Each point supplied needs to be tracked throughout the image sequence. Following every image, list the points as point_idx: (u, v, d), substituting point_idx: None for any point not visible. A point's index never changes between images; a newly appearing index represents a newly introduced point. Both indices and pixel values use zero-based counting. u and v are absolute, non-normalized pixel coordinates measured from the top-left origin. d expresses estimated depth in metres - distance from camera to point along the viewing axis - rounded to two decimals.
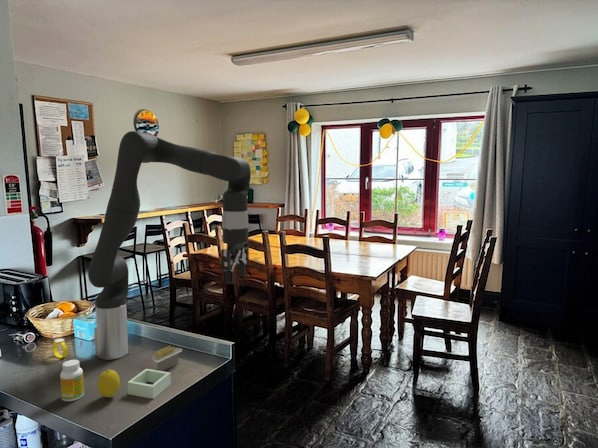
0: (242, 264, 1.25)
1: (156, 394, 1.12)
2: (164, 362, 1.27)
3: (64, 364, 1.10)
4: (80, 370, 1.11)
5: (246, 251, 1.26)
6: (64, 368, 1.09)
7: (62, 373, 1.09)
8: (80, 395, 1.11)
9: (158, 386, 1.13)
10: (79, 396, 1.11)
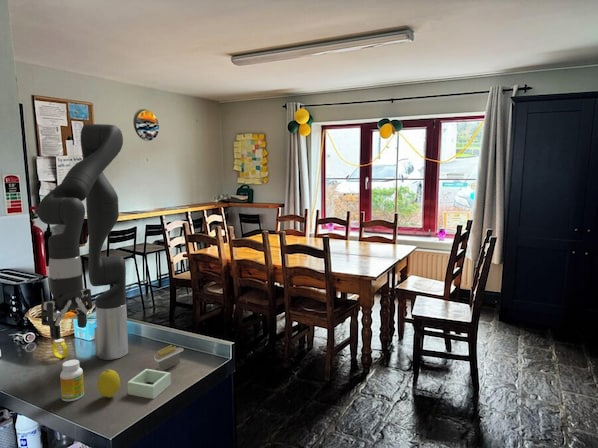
0: (81, 314, 1.13)
1: (156, 394, 1.12)
2: (165, 361, 1.27)
3: (64, 364, 1.10)
4: (80, 370, 1.11)
5: (87, 299, 1.14)
6: (64, 368, 1.09)
7: (62, 373, 1.09)
8: (80, 395, 1.11)
9: (158, 386, 1.13)
10: (79, 396, 1.11)
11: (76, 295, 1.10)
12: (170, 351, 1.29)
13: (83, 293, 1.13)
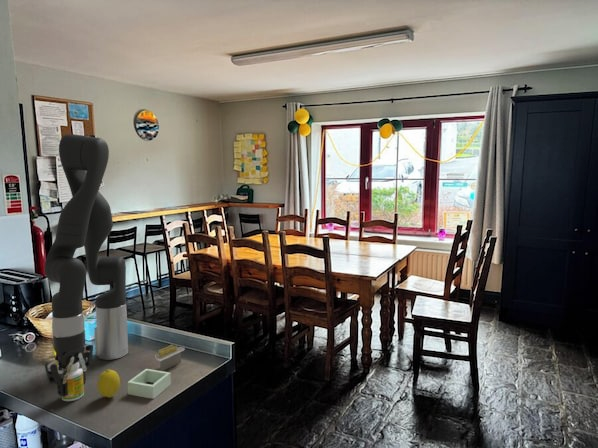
0: None
1: (156, 394, 1.12)
2: (167, 361, 1.28)
3: None
4: (80, 370, 1.11)
5: (88, 355, 1.15)
6: None
7: None
8: (80, 395, 1.11)
9: (158, 386, 1.13)
10: (79, 396, 1.11)
11: (79, 350, 1.12)
12: (171, 350, 1.29)
13: (85, 348, 1.15)
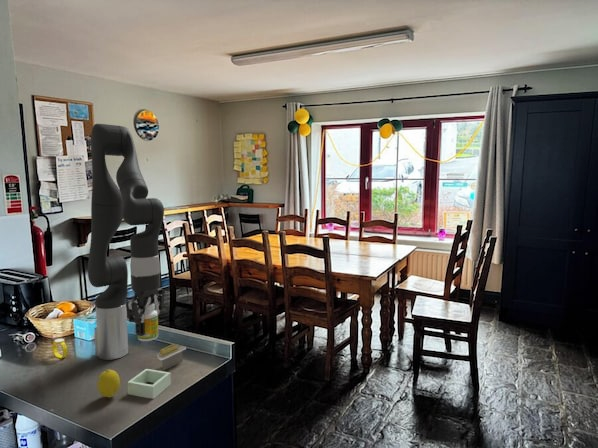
0: None
1: (156, 394, 1.12)
2: (168, 360, 1.28)
3: None
4: (155, 311, 1.14)
5: (161, 299, 1.18)
6: None
7: None
8: (156, 336, 1.13)
9: (158, 386, 1.13)
10: (155, 337, 1.13)
11: (154, 292, 1.14)
12: (173, 350, 1.30)
13: (158, 292, 1.17)
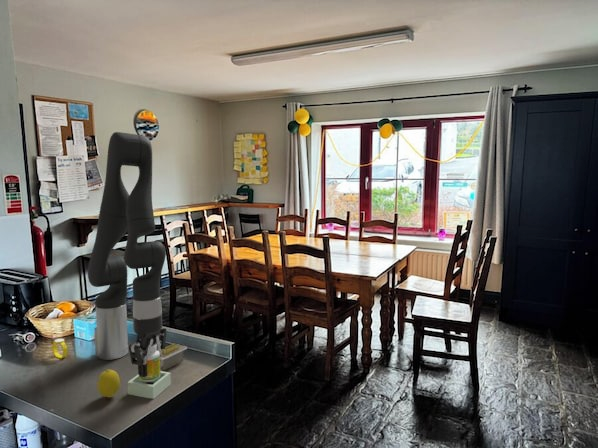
0: None
1: (156, 394, 1.12)
2: (169, 359, 1.29)
3: None
4: (158, 352, 1.15)
5: (162, 338, 1.19)
6: (144, 350, 1.13)
7: None
8: (158, 376, 1.15)
9: (158, 386, 1.13)
10: (157, 377, 1.14)
11: (156, 333, 1.16)
12: (174, 349, 1.30)
13: (160, 332, 1.19)
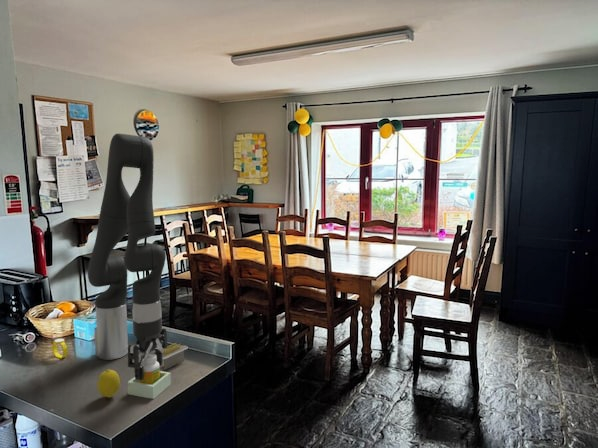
0: (158, 353, 1.19)
1: (156, 394, 1.12)
2: (170, 359, 1.29)
3: None
4: (157, 363, 1.16)
5: (163, 338, 1.20)
6: (144, 361, 1.13)
7: None
8: None
9: (158, 386, 1.13)
10: None
11: (155, 336, 1.16)
12: (175, 349, 1.30)
13: (160, 333, 1.19)
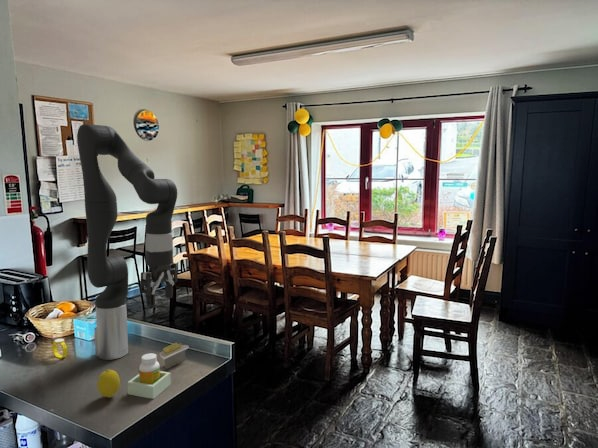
0: (169, 285, 1.24)
1: (156, 394, 1.12)
2: (171, 358, 1.29)
3: (143, 357, 1.14)
4: (157, 363, 1.16)
5: (174, 272, 1.25)
6: (144, 361, 1.13)
7: (141, 366, 1.14)
8: None
9: (158, 386, 1.13)
10: None
11: (166, 268, 1.21)
12: (176, 348, 1.31)
13: (171, 267, 1.24)
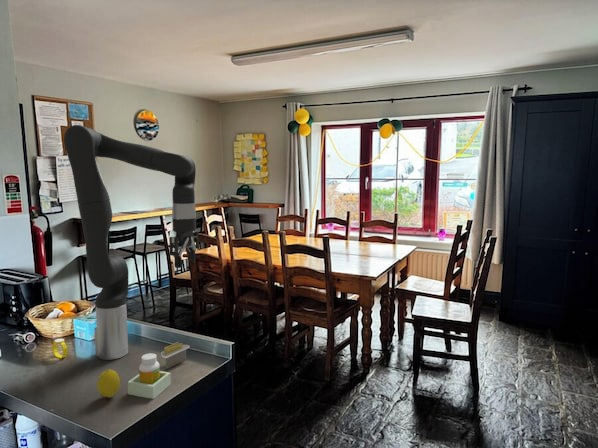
0: (192, 251, 1.41)
1: (156, 394, 1.12)
2: (172, 358, 1.30)
3: (143, 357, 1.14)
4: (157, 363, 1.16)
5: (196, 239, 1.42)
6: (144, 361, 1.13)
7: (141, 366, 1.14)
8: None
9: (158, 386, 1.13)
10: None
11: (190, 235, 1.38)
12: (177, 348, 1.31)
13: (193, 234, 1.41)
